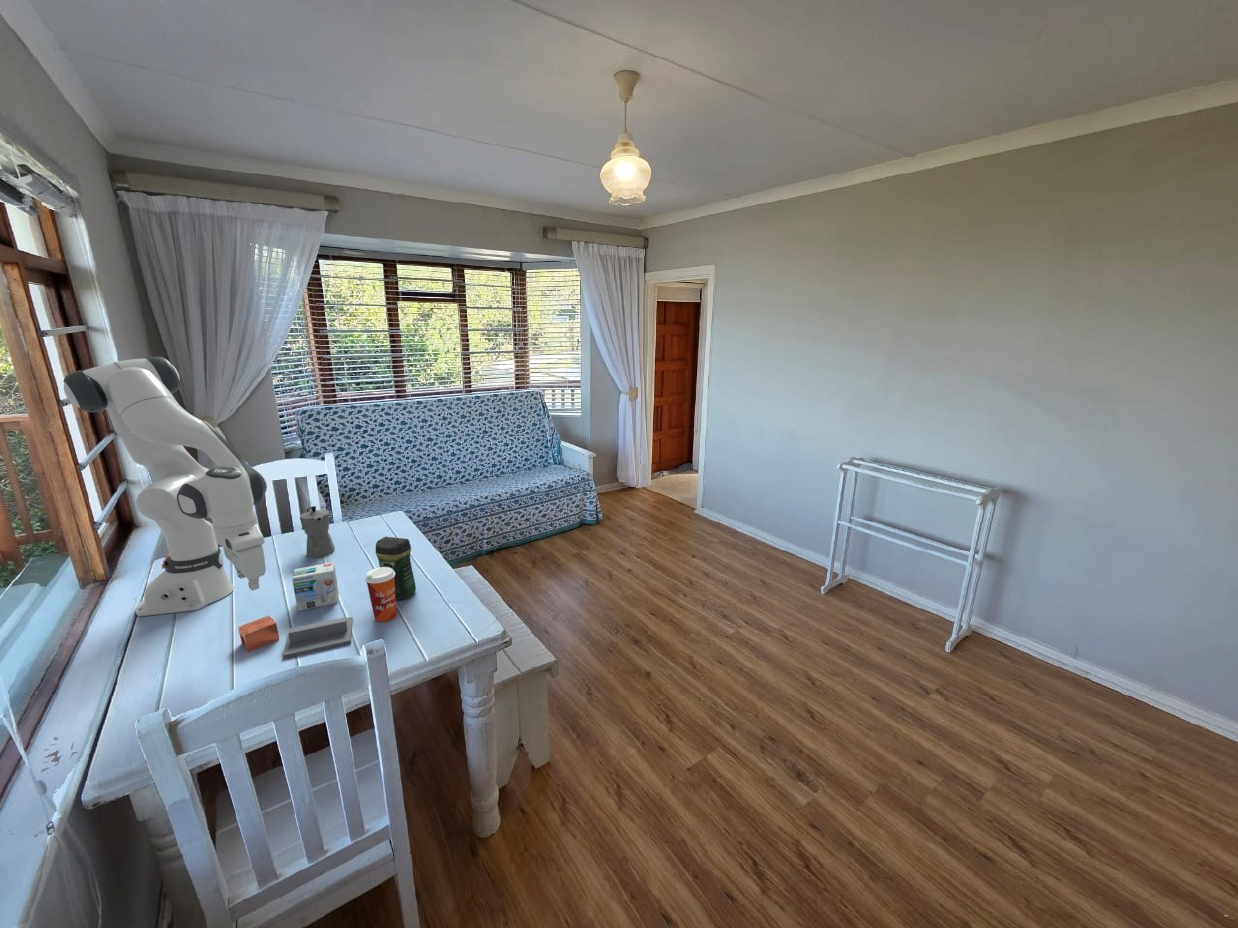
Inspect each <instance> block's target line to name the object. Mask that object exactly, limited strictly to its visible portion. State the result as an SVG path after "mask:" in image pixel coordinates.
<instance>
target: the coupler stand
mask: <svg viewBox="0 0 1238 928" xmlns="http://www.w3.org/2000/svg"><path fill="white" fill-rule="evenodd" d="M353 622H354V619H353V616H350V617H340V618H335V619H330V620H326V621H325V620H324V621H320V622H316V623H312V624H307V625H302V626H296V627H291V628H289V629H288V633H287V639H286V642H285V646H284V649H283V653H282V659H283V660H285V659H289V658H293V657H297V656H301V655H307V654H310V653H317V652H320V651H323V650H329V649H332V648H337V647H342V646H345V645H351V644H352V634H353V633H352V632H353Z"/></svg>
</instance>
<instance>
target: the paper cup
mask: <svg viewBox="0 0 1238 928" xmlns="http://www.w3.org/2000/svg"><path fill="white" fill-rule="evenodd" d="M394 576H395V572H394V571H393V569H392V568H389V567H380V566H379V567H375V568H373V569H370V570H369V571H368V572H367V573H366V574H365V578H364V582H366V585H367V590H368V594H369V599H370V603H371V609H372V612H373V613H372V614H373V616H374V620H375V622H378V623H385V622H388V621H391V620H394V619H395V618H396V615H397V608H396V607H397V601H396V600H397V599H395V581H394Z"/></svg>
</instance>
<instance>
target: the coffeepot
mask: <svg viewBox="0 0 1238 928" xmlns="http://www.w3.org/2000/svg"><path fill="white" fill-rule="evenodd" d="M299 519H300V522H301V525H302V528H303V531H304V534H305V535H306V552H305V553H306V557H308V558H313V559H314V558H317V559H318V558H322V557H327V556H329V555H331V554H333V553H334V552H335V549H336V547H335V545H334V543H333V540H332V536H331V535H330V533H329V529H330V511H329V510H326V509H317V506H316V505H313V506H312V505H311V506H310V507H307V508H306V512H303V513H301V514H300V516H299Z"/></svg>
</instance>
